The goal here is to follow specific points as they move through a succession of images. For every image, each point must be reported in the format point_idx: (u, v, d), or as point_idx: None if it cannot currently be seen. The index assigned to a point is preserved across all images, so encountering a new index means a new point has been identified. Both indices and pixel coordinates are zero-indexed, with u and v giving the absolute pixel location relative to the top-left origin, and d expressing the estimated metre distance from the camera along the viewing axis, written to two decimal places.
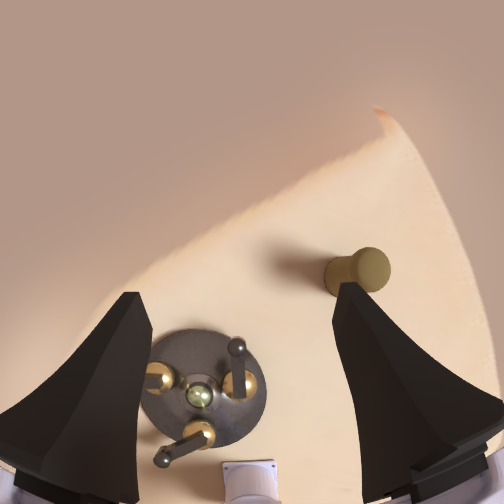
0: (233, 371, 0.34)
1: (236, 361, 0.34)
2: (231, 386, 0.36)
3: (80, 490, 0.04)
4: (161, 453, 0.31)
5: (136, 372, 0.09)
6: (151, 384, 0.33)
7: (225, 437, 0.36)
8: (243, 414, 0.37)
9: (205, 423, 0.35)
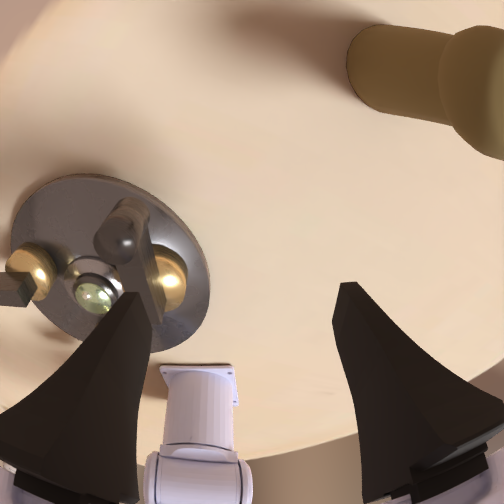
0: (124, 282, 0.16)
1: (124, 263, 0.15)
2: None
3: (80, 490, 0.04)
4: None
5: (136, 371, 0.09)
6: (14, 300, 0.17)
7: (153, 343, 0.26)
8: (173, 316, 0.24)
9: None
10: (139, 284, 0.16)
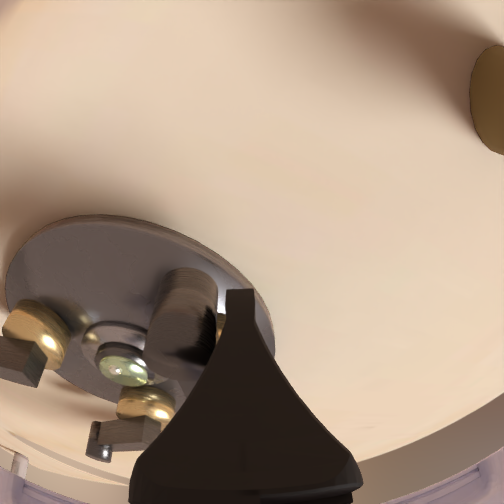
0: (184, 383, 0.11)
1: None
2: None
3: None
4: (93, 447, 0.17)
5: None
6: (20, 379, 0.12)
7: None
8: None
9: (150, 403, 0.18)
10: None
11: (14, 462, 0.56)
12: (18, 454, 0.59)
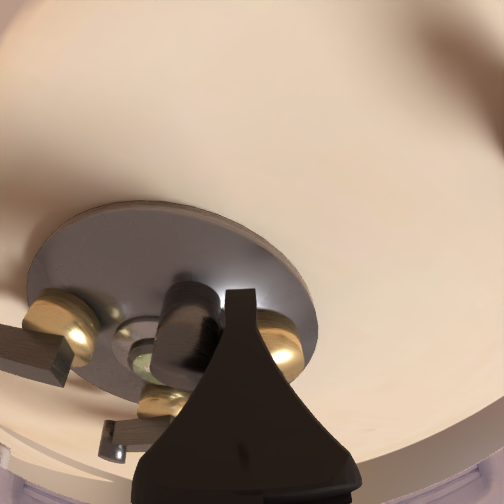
0: None
1: None
2: None
3: None
4: (107, 448, 0.17)
5: None
6: (44, 378, 0.11)
7: None
8: None
9: (178, 403, 0.18)
10: None
11: None
12: (0, 444, 0.55)
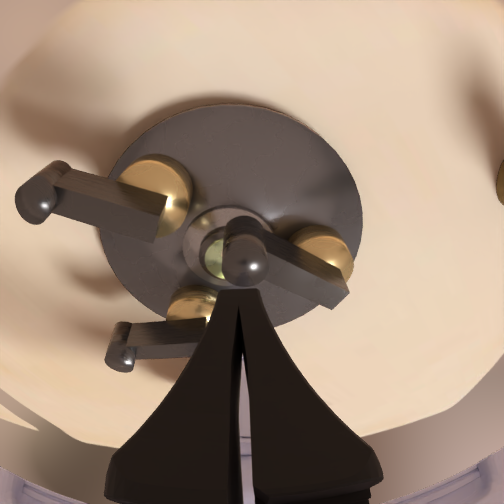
0: (287, 286, 0.16)
1: (271, 273, 0.16)
2: None
3: None
4: (121, 349, 0.19)
5: (239, 373, 0.09)
6: (136, 228, 0.14)
7: None
8: (285, 300, 0.23)
9: None
10: (299, 277, 0.16)
11: None
12: None
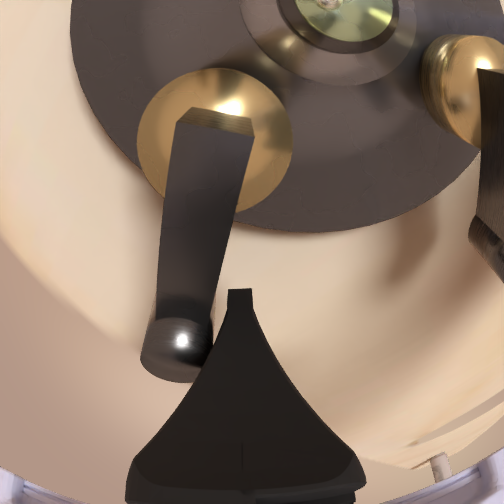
0: None
1: None
2: None
3: None
4: None
5: None
6: (214, 174, 0.06)
7: (491, 35, 0.07)
8: None
9: (455, 42, 0.06)
10: None
11: (434, 469, 0.60)
12: (433, 458, 0.63)
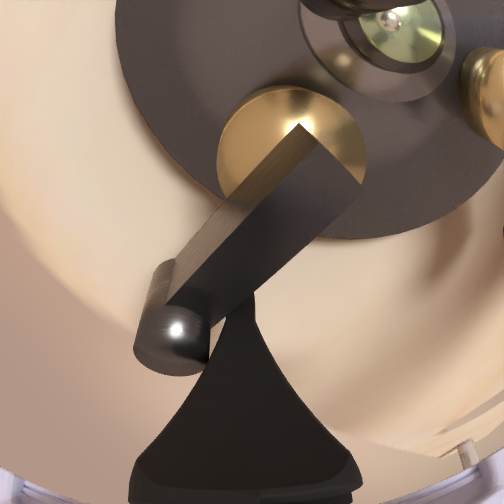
0: None
1: None
2: None
3: None
4: None
5: None
6: (318, 202, 0.07)
7: None
8: None
9: (490, 58, 0.06)
10: None
11: (462, 456, 0.58)
12: (461, 445, 0.61)
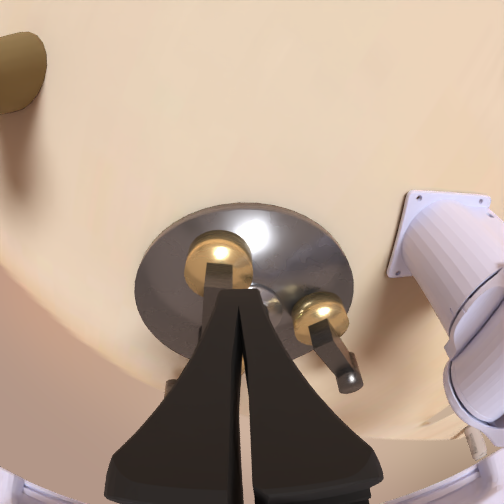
0: None
1: None
2: (235, 278, 0.19)
3: None
4: (337, 383, 0.24)
5: (239, 373, 0.09)
6: None
7: (336, 277, 0.23)
8: (290, 250, 0.21)
9: (298, 316, 0.23)
10: None
11: (467, 438, 0.68)
12: (466, 428, 0.71)
